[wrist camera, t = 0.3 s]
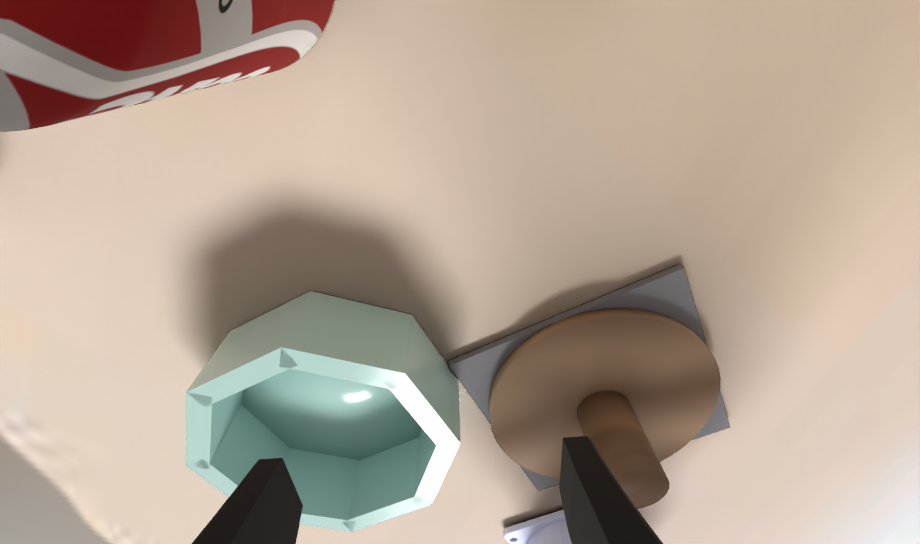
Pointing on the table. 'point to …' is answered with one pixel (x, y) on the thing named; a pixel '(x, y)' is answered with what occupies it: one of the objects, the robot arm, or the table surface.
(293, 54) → the soda can
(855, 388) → the table surface
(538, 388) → the lid
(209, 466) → the bowl
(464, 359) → the mat
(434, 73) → the table surface
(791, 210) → the table surface
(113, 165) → the table surface
